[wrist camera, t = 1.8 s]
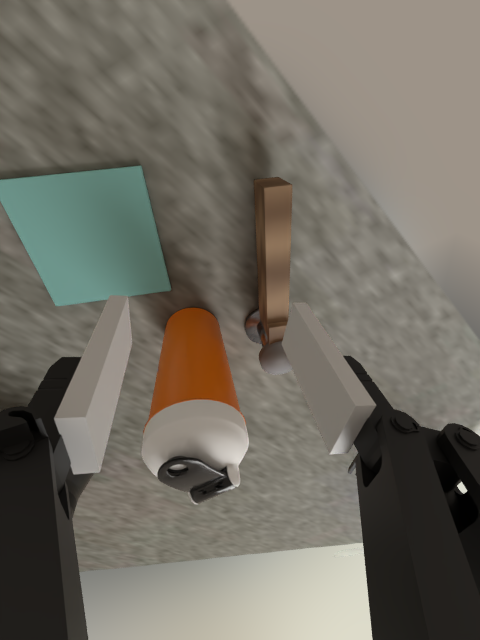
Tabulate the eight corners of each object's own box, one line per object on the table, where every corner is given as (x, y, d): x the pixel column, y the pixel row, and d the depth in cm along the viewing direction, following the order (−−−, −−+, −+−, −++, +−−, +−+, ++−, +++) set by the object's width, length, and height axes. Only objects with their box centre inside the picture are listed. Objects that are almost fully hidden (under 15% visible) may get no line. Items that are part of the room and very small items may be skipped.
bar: (285, 341, 39) (299, 371, 35) (252, 347, 39) (261, 377, 34) (290, 175, 27) (311, 186, 23) (241, 180, 27) (253, 192, 22)
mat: (58, 303, 33) (56, 306, 32) (-7, 180, 25) (-10, 181, 25) (171, 288, 34) (170, 290, 33) (141, 165, 26) (140, 166, 26)
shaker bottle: (194, 287, 34) (202, 433, 18) (239, 330, 39) (277, 476, 23) (143, 328, 36) (108, 492, 20) (191, 364, 41) (194, 521, 25)
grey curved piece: (246, 344, 41) (253, 368, 36) (243, 309, 37) (250, 331, 33) (286, 337, 41) (298, 361, 37) (287, 302, 38) (300, 324, 34)
